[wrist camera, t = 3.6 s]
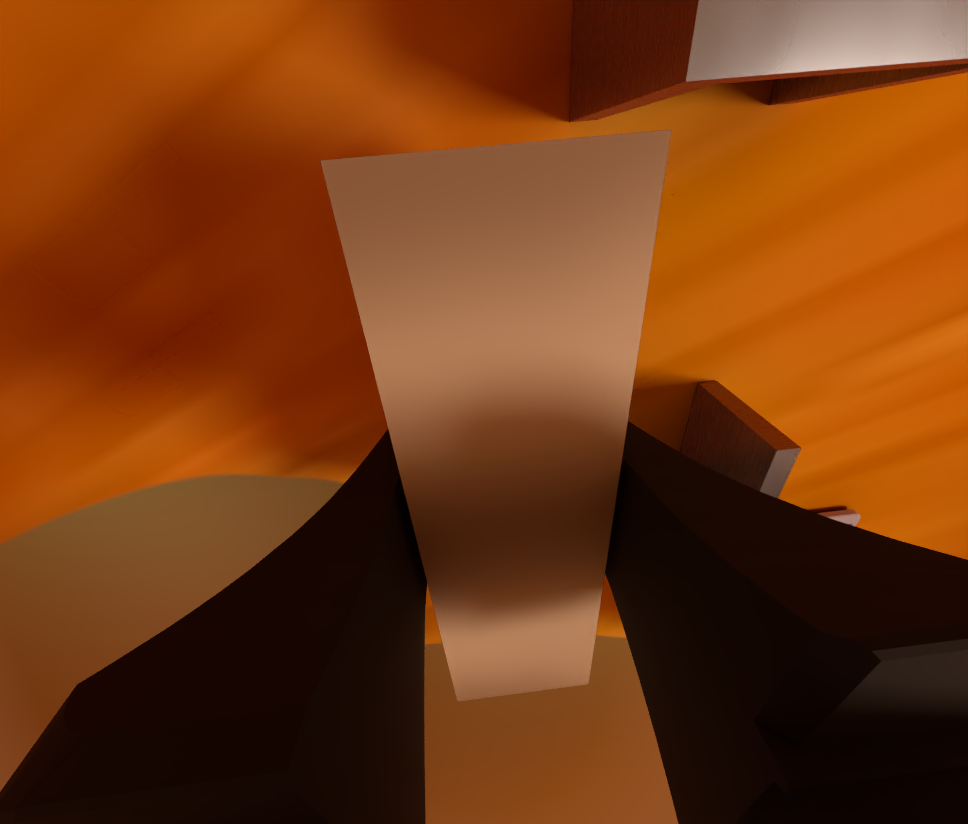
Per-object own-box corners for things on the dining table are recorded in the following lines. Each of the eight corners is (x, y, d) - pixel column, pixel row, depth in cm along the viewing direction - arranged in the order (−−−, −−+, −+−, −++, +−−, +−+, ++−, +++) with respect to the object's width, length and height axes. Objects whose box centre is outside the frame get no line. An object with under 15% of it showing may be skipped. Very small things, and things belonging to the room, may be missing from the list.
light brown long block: (546, 534, 15) (588, 684, 10) (453, 545, 14) (457, 701, 10) (553, 149, 8) (671, 129, 4) (385, 164, 8) (319, 160, 4)
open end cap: (689, 477, 19) (750, 555, 15) (555, 492, 19) (583, 575, 15) (716, 380, 16) (801, 447, 12) (559, 397, 16) (595, 471, 12)
